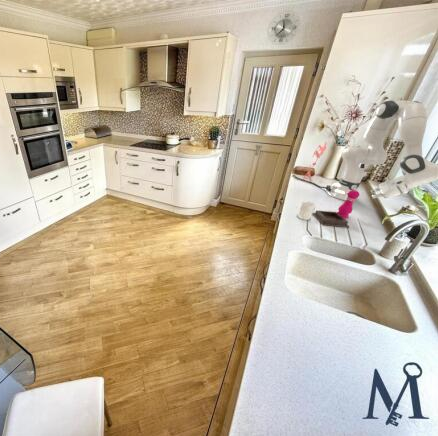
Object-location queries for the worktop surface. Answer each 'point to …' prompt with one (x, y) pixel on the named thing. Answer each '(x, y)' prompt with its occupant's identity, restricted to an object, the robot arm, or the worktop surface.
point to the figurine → (317, 158)
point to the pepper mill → (348, 203)
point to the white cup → (306, 210)
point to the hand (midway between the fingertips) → (371, 194)
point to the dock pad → (330, 218)
